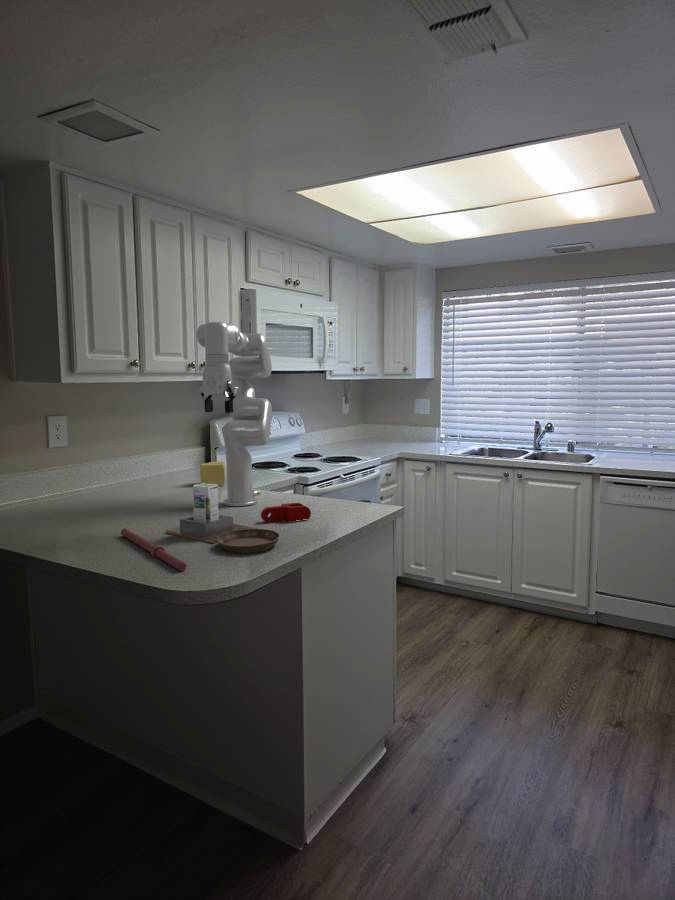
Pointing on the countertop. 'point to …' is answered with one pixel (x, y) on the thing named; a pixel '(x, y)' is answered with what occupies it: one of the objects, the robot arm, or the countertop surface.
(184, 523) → the collar
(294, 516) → the mechanical linkage
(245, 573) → the countertop surface
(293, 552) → the countertop surface
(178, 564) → the rolling pin
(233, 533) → the plant saucer
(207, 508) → the syrup box
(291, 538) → the countertop surface
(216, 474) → the cheese
